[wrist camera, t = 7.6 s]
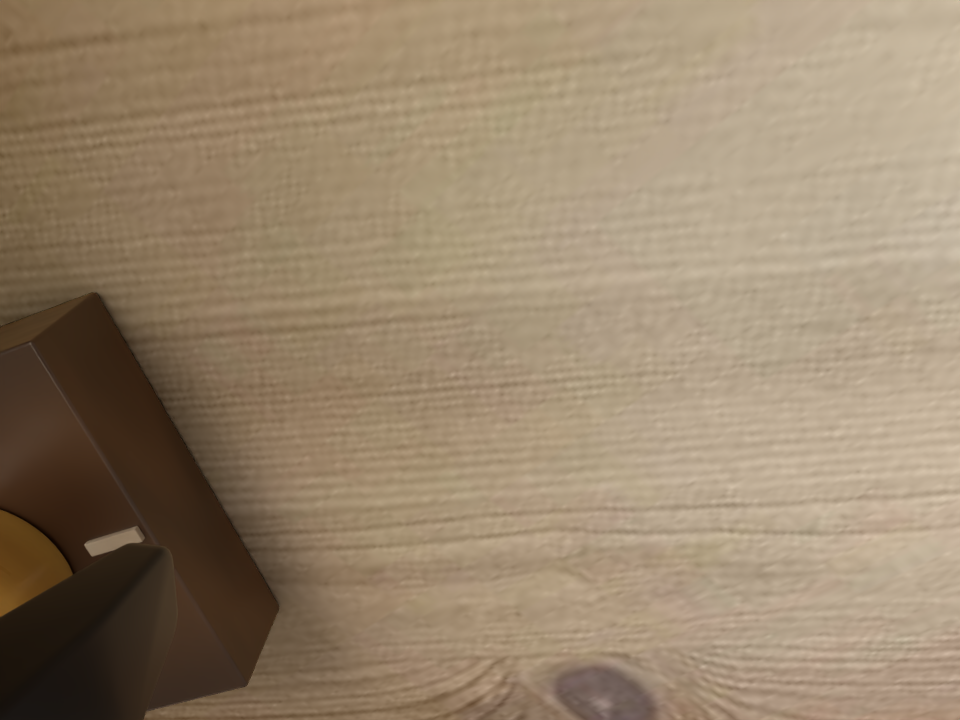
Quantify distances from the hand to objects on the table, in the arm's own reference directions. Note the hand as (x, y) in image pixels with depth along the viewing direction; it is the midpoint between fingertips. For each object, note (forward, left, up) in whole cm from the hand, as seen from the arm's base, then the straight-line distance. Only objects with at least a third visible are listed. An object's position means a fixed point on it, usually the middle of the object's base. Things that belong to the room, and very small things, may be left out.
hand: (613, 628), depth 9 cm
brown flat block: (-2, +16, -13) cm, 20 cm away
